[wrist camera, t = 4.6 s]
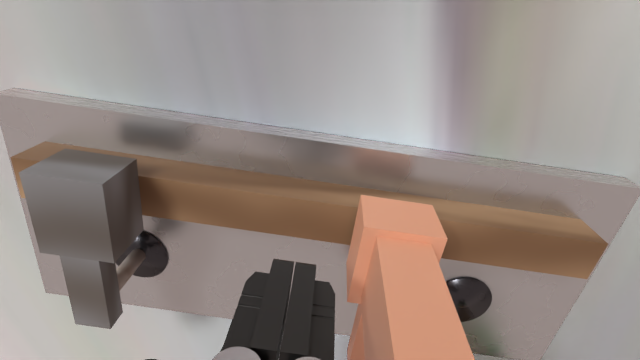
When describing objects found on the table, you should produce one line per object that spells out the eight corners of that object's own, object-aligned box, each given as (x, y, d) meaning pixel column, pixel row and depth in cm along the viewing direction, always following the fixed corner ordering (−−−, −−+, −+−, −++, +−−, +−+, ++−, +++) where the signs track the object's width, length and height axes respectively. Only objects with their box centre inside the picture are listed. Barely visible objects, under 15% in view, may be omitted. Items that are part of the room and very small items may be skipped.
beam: (41, 125, 17) (-51, 162, 13) (588, 205, 17) (663, 265, 13) (69, 254, 20) (3, 315, 16) (526, 319, 20) (571, 395, 16)
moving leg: (358, 175, 17) (375, 348, 8) (423, 184, 17) (504, 366, 8) (334, 297, 20) (328, 509, 12) (387, 305, 20) (420, 521, 12)
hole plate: (13, 88, 17) (-11, 93, 16) (625, 177, 18) (645, 189, 16) (59, 278, 23) (44, 293, 21) (529, 345, 23) (539, 363, 22)
